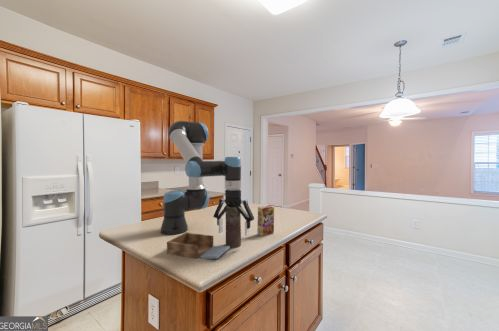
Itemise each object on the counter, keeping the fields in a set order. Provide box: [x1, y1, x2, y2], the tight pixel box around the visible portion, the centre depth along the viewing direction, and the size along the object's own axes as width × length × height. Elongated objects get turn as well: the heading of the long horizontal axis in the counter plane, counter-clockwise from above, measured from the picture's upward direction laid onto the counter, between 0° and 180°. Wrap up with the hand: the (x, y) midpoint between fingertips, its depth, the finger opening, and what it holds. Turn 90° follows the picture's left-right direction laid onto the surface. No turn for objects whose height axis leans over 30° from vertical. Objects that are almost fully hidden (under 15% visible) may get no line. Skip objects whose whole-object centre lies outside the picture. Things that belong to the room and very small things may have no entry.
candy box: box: [256, 205, 275, 237], centre depth 129 cm, size 9×4×15 cm, turn 123°
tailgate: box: [197, 245, 231, 260], centre depth 100 cm, size 1×12×9 cm
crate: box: [166, 231, 214, 259], centre depth 104 cm, size 15×14×6 cm
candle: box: [225, 205, 242, 249], centre depth 110 cm, size 8×7×20 cm
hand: (233, 233), depth 110 cm, fingers open, 13 cm apart
